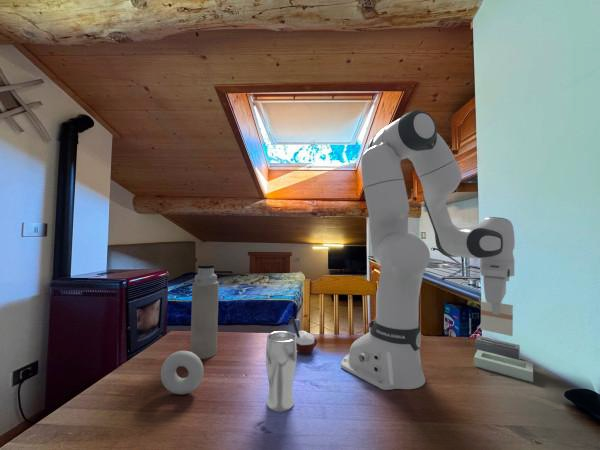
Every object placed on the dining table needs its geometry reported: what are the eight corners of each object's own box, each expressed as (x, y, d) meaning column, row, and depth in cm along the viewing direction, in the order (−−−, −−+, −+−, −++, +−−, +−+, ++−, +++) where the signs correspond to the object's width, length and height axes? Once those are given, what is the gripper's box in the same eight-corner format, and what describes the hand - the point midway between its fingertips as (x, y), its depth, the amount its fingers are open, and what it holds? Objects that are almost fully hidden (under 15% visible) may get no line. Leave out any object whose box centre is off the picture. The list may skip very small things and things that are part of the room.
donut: (156, 397, 63) (158, 353, 63) (164, 389, 66) (165, 347, 67) (200, 398, 63) (201, 354, 63) (205, 389, 66) (206, 348, 67)
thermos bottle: (205, 346, 92) (208, 262, 93) (222, 351, 88) (224, 264, 88) (184, 354, 85) (187, 264, 86) (201, 361, 81) (203, 266, 82)
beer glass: (291, 415, 57) (293, 343, 58) (260, 410, 59) (261, 340, 59) (298, 396, 64) (299, 332, 65) (270, 392, 66) (271, 329, 66)
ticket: (480, 329, 87) (480, 301, 88) (481, 328, 89) (481, 300, 89) (512, 336, 82) (512, 306, 82) (512, 334, 83) (512, 305, 84)
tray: (474, 369, 79) (473, 357, 79) (477, 361, 84) (477, 349, 84) (533, 386, 70) (533, 372, 70) (533, 375, 75) (532, 363, 75)
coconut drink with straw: (315, 349, 92) (317, 312, 93) (319, 356, 85) (321, 317, 86) (287, 349, 90) (289, 312, 91) (289, 356, 84) (291, 317, 85)
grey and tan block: (475, 357, 86) (475, 340, 86) (478, 351, 91) (478, 334, 91) (519, 369, 79) (518, 350, 79) (519, 361, 84) (519, 343, 84)
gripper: (488, 265, 96) (488, 305, 95) (480, 270, 80) (479, 317, 80) (511, 267, 92) (511, 308, 91) (506, 272, 76) (506, 322, 76)
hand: (496, 313), depth 86 cm, fingers closed on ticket, 2 cm apart
